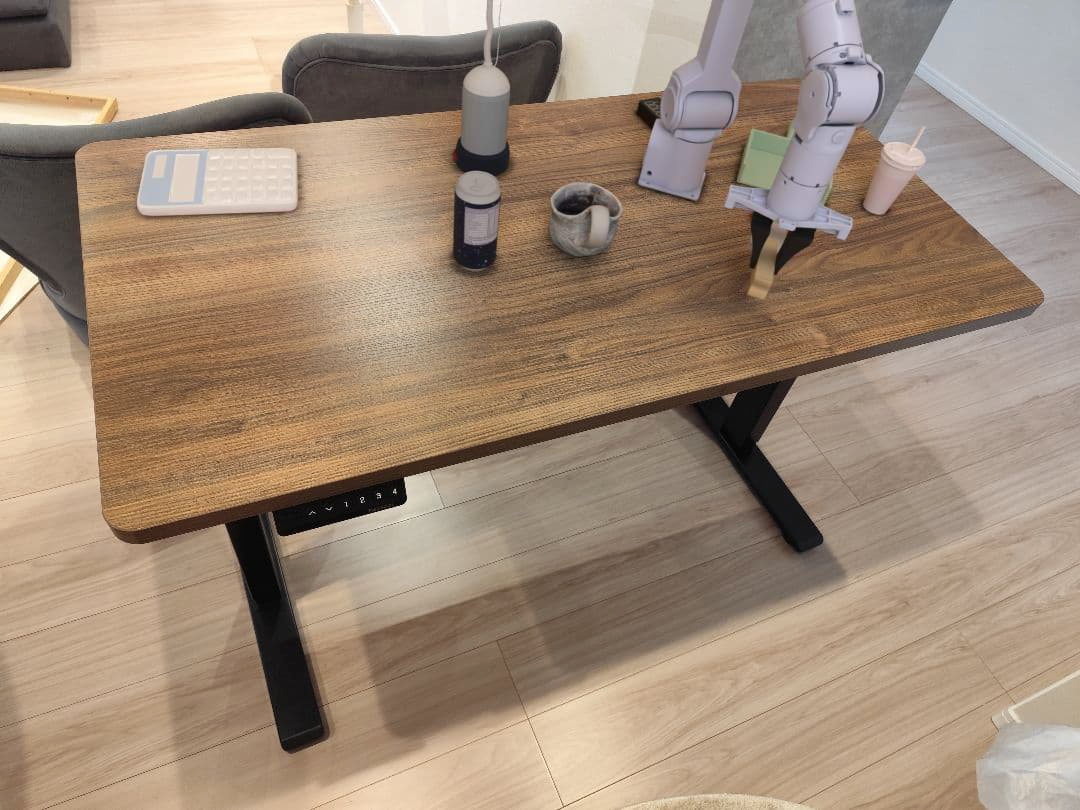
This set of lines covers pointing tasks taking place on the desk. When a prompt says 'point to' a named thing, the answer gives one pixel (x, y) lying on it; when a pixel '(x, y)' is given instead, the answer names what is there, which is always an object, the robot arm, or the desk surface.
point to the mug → (583, 218)
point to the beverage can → (476, 220)
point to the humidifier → (484, 114)
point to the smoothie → (893, 174)
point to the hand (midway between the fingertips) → (763, 266)
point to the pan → (766, 159)
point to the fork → (765, 262)
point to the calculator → (218, 181)
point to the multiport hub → (649, 110)
